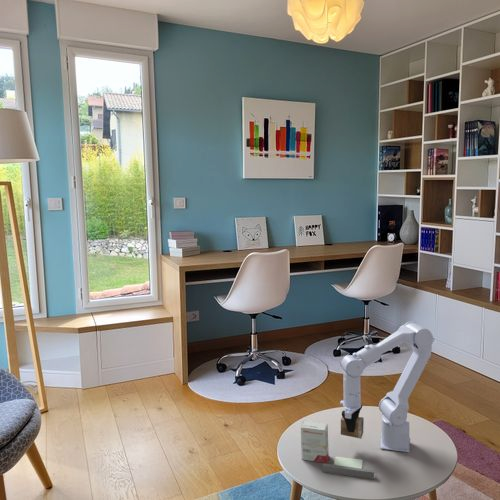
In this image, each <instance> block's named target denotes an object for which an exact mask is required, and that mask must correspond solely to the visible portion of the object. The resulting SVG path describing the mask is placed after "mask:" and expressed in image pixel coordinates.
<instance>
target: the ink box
mask: <svg viewBox="0 0 500 500" xmlns="http://www.w3.org/2000/svg"><path fill="white" fill-rule="evenodd" d="M328 425H329V424H328V423H323V422H322V423H321V422H314V421H307V420H303V421H302V424H301V427H300V443H301V445H300V446H301V460H303V461H304V460H306V461H310V462H316V463H322V464H323V463H325V464H328V461H329V454H330V453H329V427H328Z"/></svg>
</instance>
